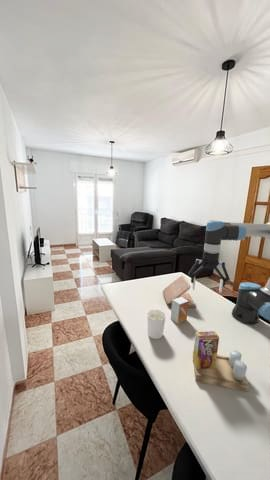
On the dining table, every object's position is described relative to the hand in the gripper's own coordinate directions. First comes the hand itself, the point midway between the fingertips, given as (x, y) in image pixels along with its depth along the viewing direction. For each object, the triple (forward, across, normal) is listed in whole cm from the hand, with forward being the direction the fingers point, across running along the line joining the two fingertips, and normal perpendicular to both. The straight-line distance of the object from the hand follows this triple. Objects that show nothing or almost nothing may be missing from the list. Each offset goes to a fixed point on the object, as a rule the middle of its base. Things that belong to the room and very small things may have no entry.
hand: (206, 290), depth 103 cm
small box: (+27, +12, -11) cm, 31 cm away
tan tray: (+27, -4, +24) cm, 36 cm away
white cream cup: (+27, +25, +6) cm, 37 cm away
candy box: (+24, +2, +24) cm, 34 cm away
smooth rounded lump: (+24, -11, +27) cm, 38 cm away
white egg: (+24, -11, +21) cm, 34 cm away
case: (+27, +12, -35) cm, 46 cm away
